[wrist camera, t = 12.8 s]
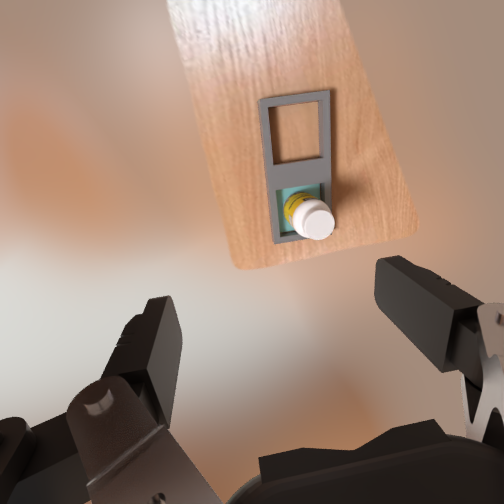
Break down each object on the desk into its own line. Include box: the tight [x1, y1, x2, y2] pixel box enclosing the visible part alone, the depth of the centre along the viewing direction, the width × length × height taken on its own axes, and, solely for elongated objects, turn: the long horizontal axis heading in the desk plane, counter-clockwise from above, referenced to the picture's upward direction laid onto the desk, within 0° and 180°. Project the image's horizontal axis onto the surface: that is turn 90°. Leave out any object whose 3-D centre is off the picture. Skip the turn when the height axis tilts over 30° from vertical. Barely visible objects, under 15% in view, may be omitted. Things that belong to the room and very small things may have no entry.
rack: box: [258, 90, 332, 244], centre depth 41 cm, size 20×10×2 cm, turn 7°
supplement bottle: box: [283, 192, 335, 240], centre depth 39 cm, size 5×5×10 cm
